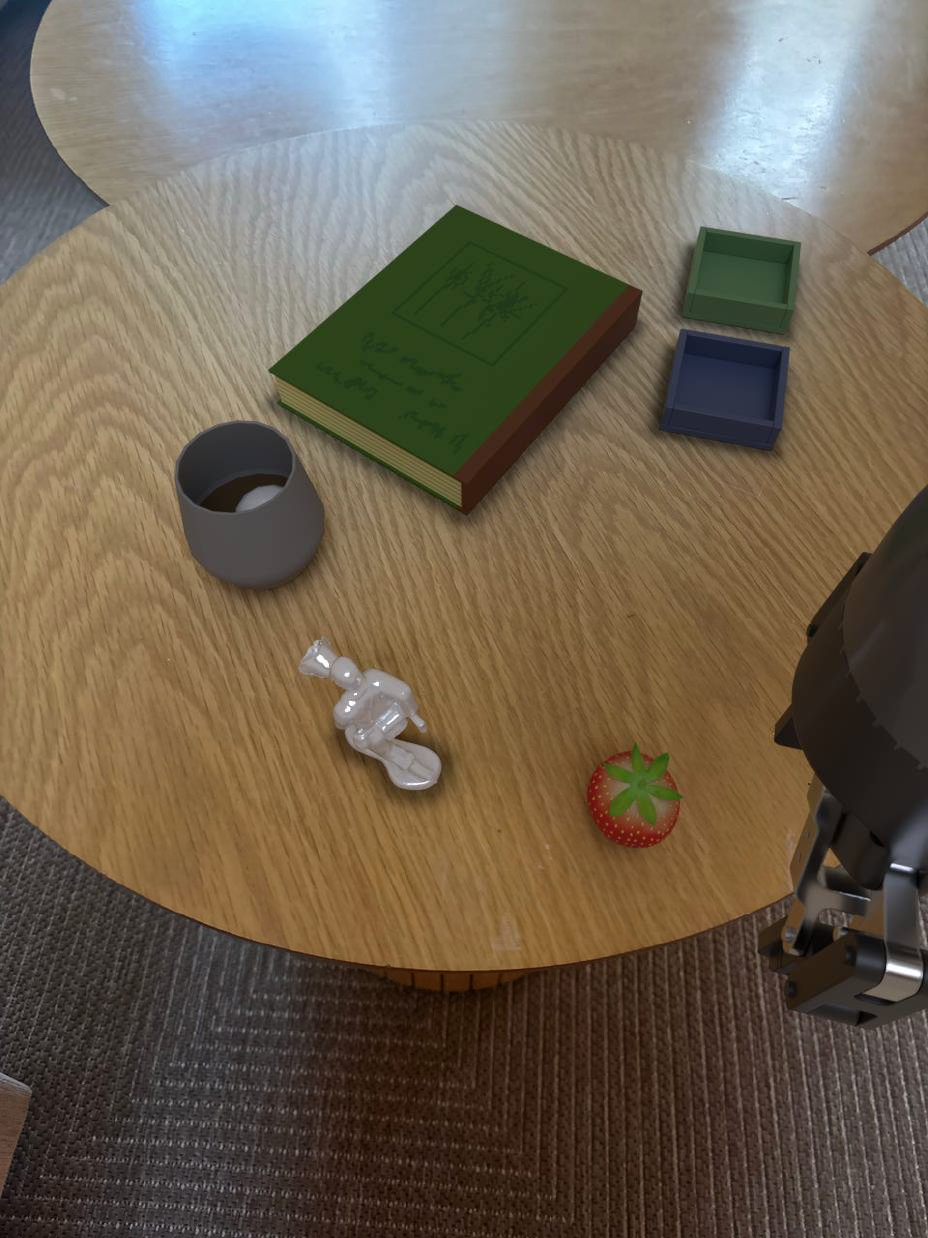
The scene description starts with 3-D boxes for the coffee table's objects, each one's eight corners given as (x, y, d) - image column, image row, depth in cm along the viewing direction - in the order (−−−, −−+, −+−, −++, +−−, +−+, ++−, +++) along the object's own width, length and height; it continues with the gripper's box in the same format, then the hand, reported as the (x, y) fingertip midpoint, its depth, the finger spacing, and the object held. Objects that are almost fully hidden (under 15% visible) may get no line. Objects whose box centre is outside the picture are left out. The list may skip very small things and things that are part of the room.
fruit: (561, 812, 54) (575, 767, 47) (623, 764, 56) (646, 713, 49) (620, 883, 52) (644, 847, 45) (684, 830, 54) (716, 788, 47)
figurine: (421, 810, 54) (410, 738, 44) (295, 745, 57) (256, 661, 46) (458, 745, 56) (455, 661, 46) (335, 685, 59) (305, 591, 48)
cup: (262, 482, 67) (231, 387, 58) (358, 541, 64) (341, 450, 56) (173, 568, 63) (126, 481, 54) (272, 635, 60) (239, 553, 52)
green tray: (792, 266, 79) (801, 241, 76) (784, 334, 74) (794, 309, 72) (693, 250, 80) (700, 225, 77) (681, 316, 76) (687, 292, 73)
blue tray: (780, 370, 72) (790, 346, 70) (771, 451, 68) (781, 428, 66) (674, 352, 73) (680, 327, 71) (659, 429, 69) (665, 406, 67)
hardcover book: (467, 515, 65) (466, 483, 62) (277, 404, 71) (268, 369, 68) (639, 321, 75) (647, 285, 72) (461, 236, 81) (461, 199, 77)
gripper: (1239, 1014, 17) (888, 1062, 31) (1143, 448, 24) (891, 699, 38) (835, 917, 18) (673, 1006, 32) (855, 399, 25) (714, 662, 39)
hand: (791, 840), depth 35 cm, fingers open, 8 cm apart
